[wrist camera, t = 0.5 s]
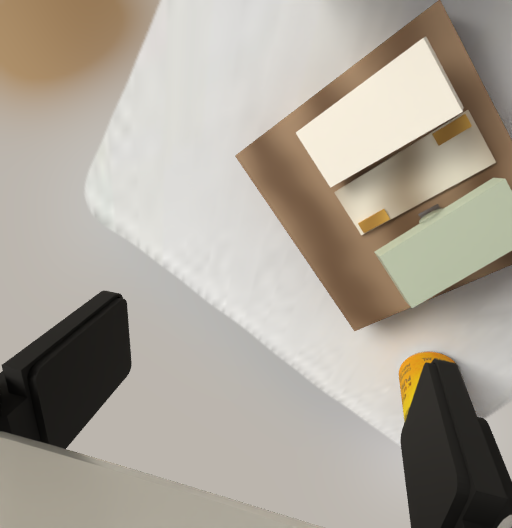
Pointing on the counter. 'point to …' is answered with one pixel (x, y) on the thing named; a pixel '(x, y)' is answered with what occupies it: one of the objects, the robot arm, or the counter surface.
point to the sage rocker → (451, 243)
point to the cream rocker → (381, 114)
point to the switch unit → (381, 176)
